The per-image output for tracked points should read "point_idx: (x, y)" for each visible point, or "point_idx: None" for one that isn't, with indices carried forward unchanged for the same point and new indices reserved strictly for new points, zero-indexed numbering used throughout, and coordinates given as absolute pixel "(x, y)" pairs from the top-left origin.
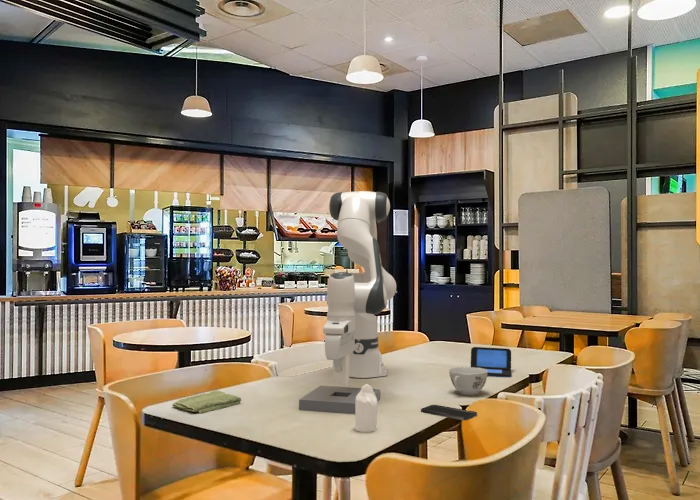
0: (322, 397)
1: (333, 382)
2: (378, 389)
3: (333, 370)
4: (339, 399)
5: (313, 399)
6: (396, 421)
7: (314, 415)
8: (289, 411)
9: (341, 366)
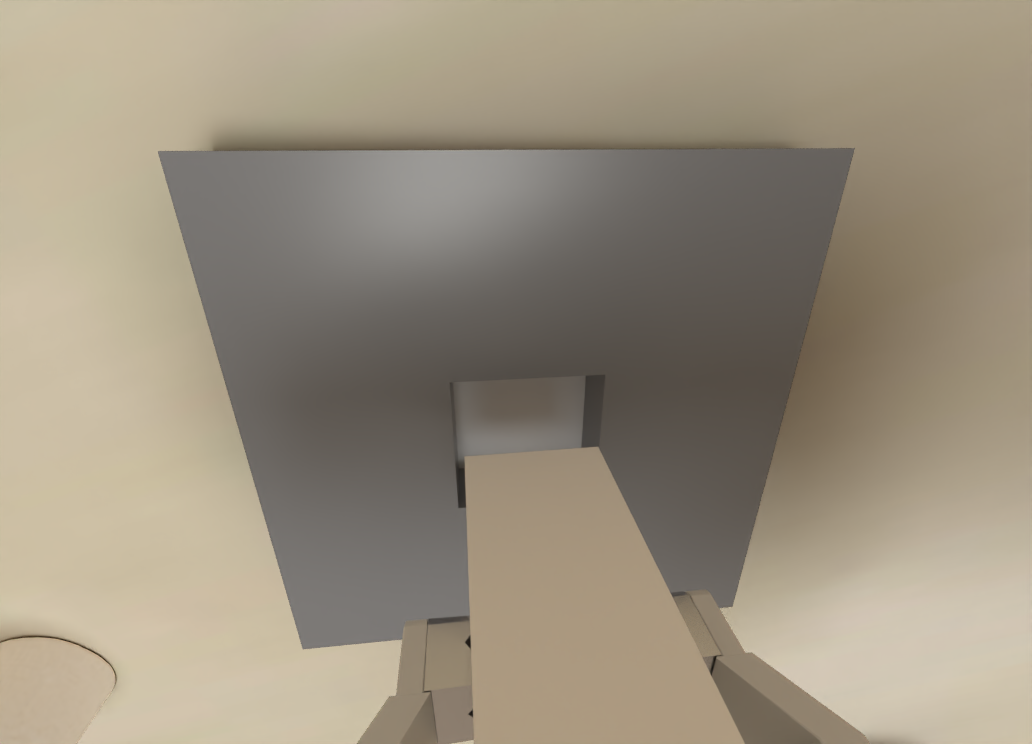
0: (358, 348)
1: (465, 476)
2: (726, 601)
3: (470, 582)
4: (351, 489)
5: (245, 298)
6: (274, 722)
7: (128, 342)
8: (109, 77)
9: (447, 739)
